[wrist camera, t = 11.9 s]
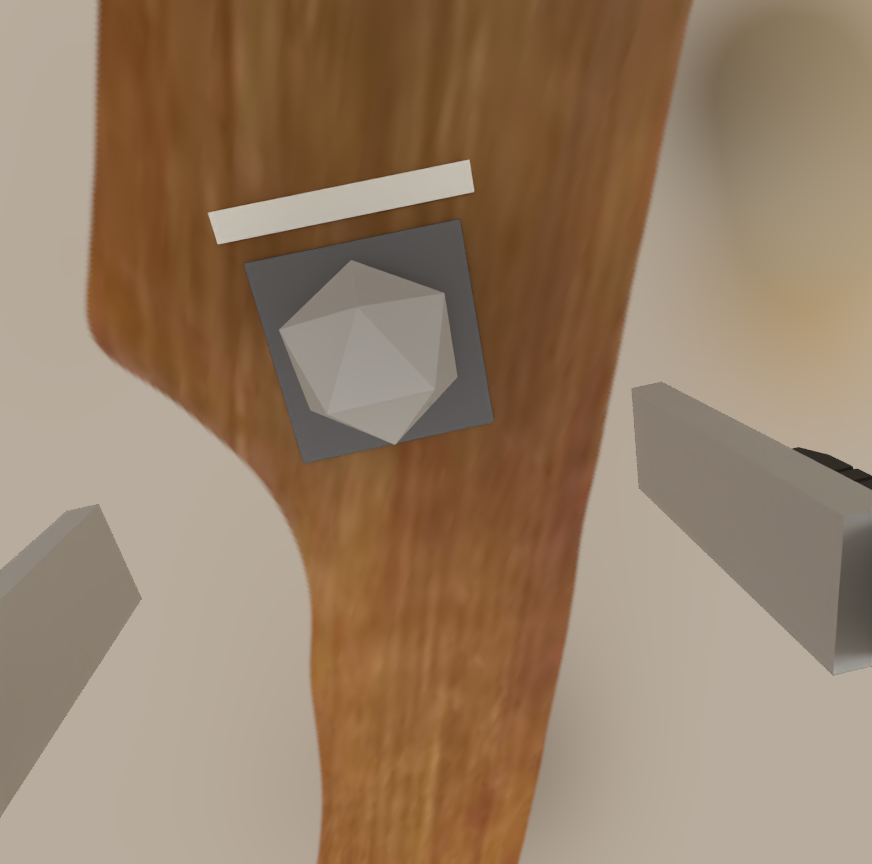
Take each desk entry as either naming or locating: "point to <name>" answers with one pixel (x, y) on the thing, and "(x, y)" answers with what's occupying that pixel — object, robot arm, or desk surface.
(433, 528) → the desk surface
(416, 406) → the die
